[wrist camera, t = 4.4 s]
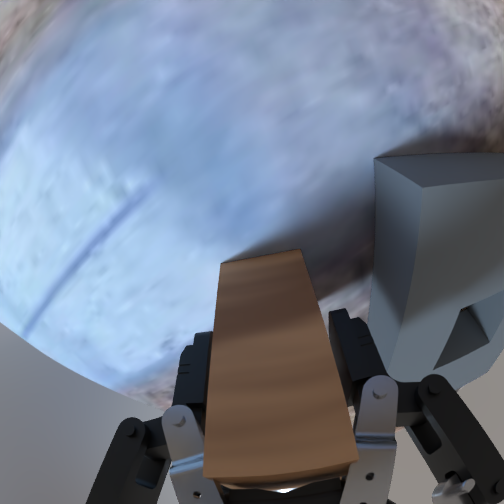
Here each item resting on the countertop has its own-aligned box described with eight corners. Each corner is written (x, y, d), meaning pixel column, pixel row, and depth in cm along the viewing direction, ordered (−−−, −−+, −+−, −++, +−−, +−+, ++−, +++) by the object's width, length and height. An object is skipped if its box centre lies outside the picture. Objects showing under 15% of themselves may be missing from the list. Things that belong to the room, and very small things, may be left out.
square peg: (220, 263, 14) (202, 476, 5) (300, 248, 13) (359, 458, 5) (239, 318, 16) (239, 492, 7) (306, 306, 15) (344, 478, 7)
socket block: (373, 158, 11) (422, 187, 7) (528, 154, 10) (567, 175, 6) (356, 388, 21) (366, 424, 18) (471, 345, 20) (487, 372, 17)
